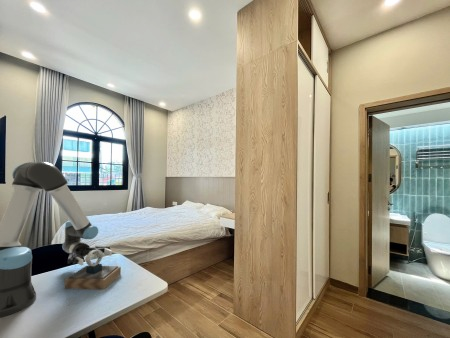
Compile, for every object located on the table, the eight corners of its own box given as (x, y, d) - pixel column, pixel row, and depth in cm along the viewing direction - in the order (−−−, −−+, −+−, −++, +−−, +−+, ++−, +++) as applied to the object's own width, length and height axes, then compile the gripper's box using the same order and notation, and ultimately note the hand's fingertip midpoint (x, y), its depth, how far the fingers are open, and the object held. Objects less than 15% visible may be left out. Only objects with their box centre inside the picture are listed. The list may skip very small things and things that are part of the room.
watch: (105, 268, 106) (105, 247, 106) (91, 275, 98) (91, 253, 98) (96, 267, 107) (97, 246, 107) (82, 274, 99) (83, 252, 100)
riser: (64, 288, 96) (64, 277, 96) (86, 274, 110) (86, 264, 110) (103, 289, 95) (104, 278, 95) (120, 274, 109) (120, 265, 109)
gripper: (102, 249, 123) (121, 256, 112) (51, 264, 102) (68, 275, 91) (102, 237, 123) (121, 243, 112) (52, 250, 102) (68, 259, 91)
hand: (97, 257), depth 101 cm, fingers open, 13 cm apart
